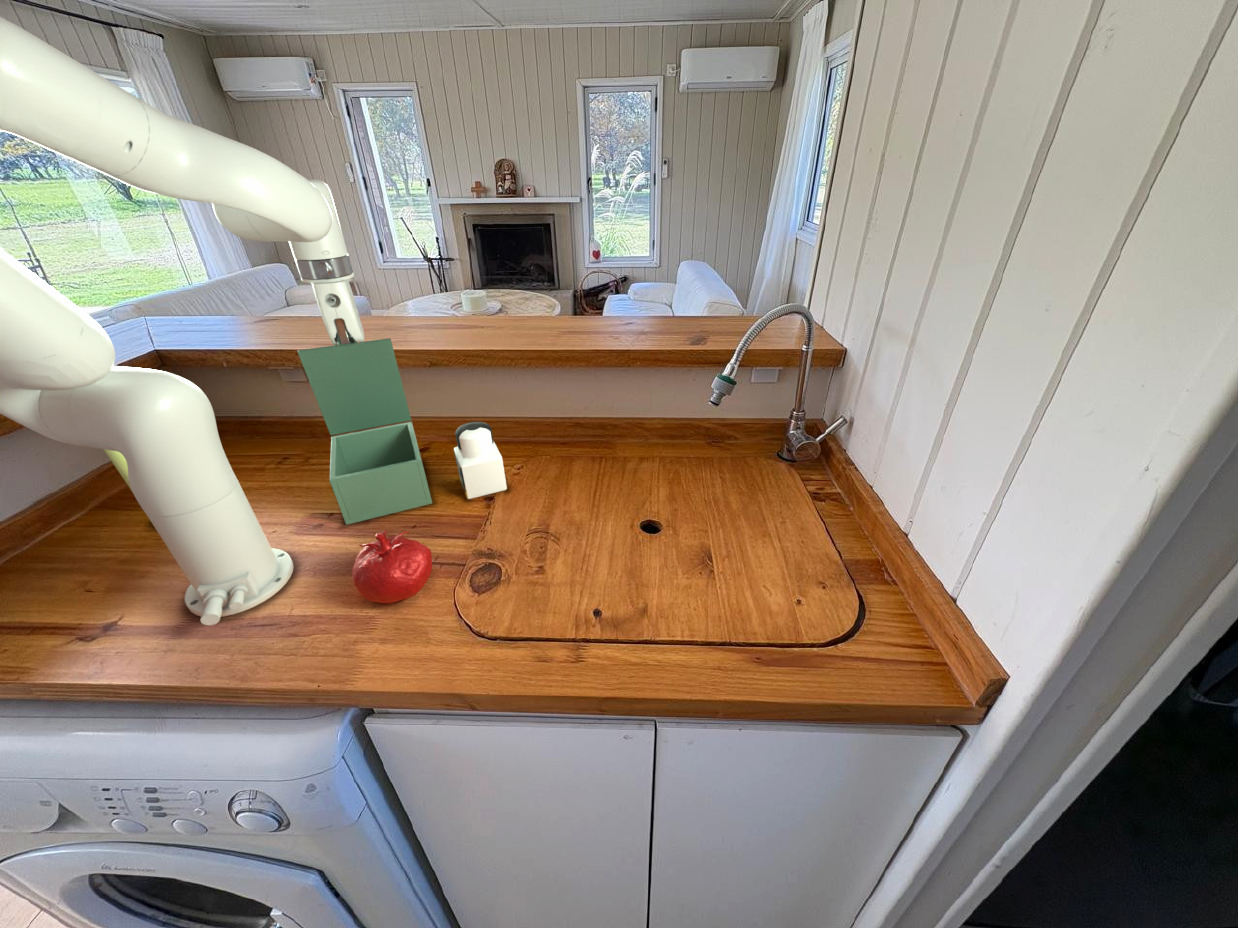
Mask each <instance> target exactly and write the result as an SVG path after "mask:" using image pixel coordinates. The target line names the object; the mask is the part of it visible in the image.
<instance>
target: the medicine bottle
mask: <svg viewBox="0 0 1238 928" xmlns="http://www.w3.org/2000/svg"><path fill="white" fill-rule="evenodd" d="M454 435H455V439H456V444H457V446H455V447H453V453H454V457H455V462H456V466H457V471H458V476H459V480H460V483H461V486H462V489H463V491H464V495H465V498H466V499H467V500H472V499H477V498H480V497H485V496H487V495H492V494H497V493H501V492H504V491H507V489H508V486H507V480H506V474H505V473H506V472H505V467H504V460H503V456H502V454H501V453H500V451H499V448H498V447H497V444H496V443H495V441H494V435H493V430H492V427H491V425H489V424H488V423H486V422H483V421H471V422H467V423H464V424H462V425H459V427H457V429H456V430H455V432H454Z"/></svg>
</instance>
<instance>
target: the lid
mask: <svg viewBox="0 0 1238 928" xmlns="http://www.w3.org/2000/svg"><path fill="white" fill-rule="evenodd" d="M297 354H298V356H299V359H300V363H301V364H302V366H303V369H304V372H305V374H306V377H307V379H308V383H309V384H310V387H311V389H312V393H313V395H314V397H315V400H316V402H317V404H318V407H319V410H320V412H321V415H322V417H323V420H324V423H325V425H326V428H327V430H328V433H329V435H330V436H337V435H342V434H348V433H353V432H358V431H364V430H369V429H374V428H380V427H385V426H390V425H395V424H401V423H406V422H411V421H412V417H411V413H410V409H409V406H408V402H407V397H406V394H405V390H404V386H403V381H402V378H401V375H400V370H399V366H398V362H397V358H396V354H395V350H394V346H393V343H392V338H381V339H373V340H368V341H367V340H366V341H365V340H364V341H363V342H360V341H357V343H350V344H342V345H338V344H337V345H334V344H333V345H328V346H327V345H326V346H319V347H312V348H304V349H298V350H297Z"/></svg>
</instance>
